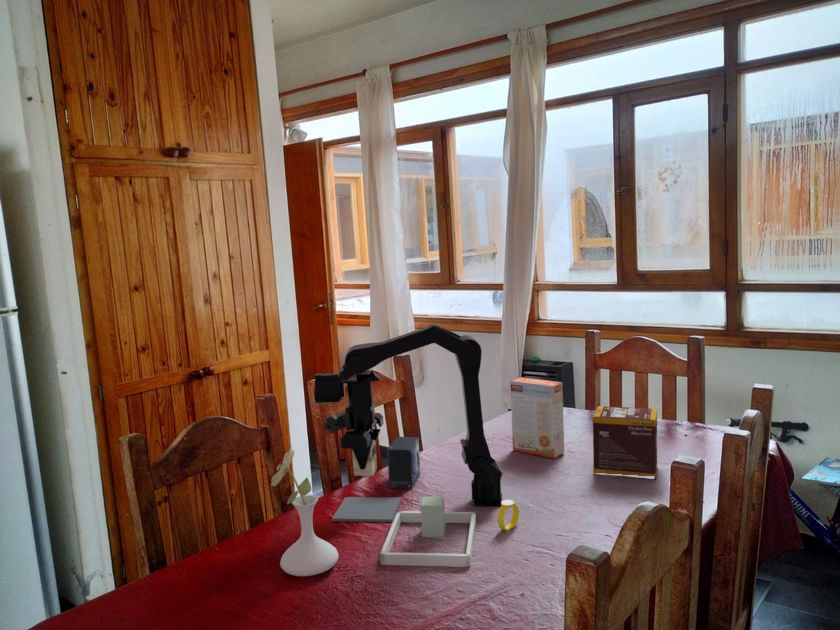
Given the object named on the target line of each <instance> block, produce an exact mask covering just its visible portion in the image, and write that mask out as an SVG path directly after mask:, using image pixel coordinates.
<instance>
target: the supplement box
mask: <svg viewBox="0 0 840 630" xmlns="http://www.w3.org/2000/svg"><path fill="white" fill-rule="evenodd" d="M592 434H593V436H592V442H593V443H592V444H593V446H592V448H593V449H592V450H593V459H592V461H593V471H592V472H593V473H605V474H606V473H607V474H622V475H638V476H654V477H656V478H657V473H656V471H657V470H658V410H657V408H643V407H627V406H626V407H625V406H603V405H601V406H599V405H598V406H597V407H596V410H595V411H594V415H593V417H592ZM657 472H658V471H657Z"/></svg>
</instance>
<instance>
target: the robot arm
mask: <svg viewBox="0 0 840 630" xmlns="http://www.w3.org/2000/svg"><path fill="white" fill-rule="evenodd" d="M431 344H435V345H438V346H439V347H441V348H443V349H445V350H447V351H448V352H450V353H452V354H454V356H455V360H456V363H457V366H458V370H459V373H460V376H461V385H462V395H463V396H462V397H463V405H464V415H465V417H464V418H465V425H466V436H465V438H460V439H459V441H460V444H461V455H460V456H461V458H462V460H463V462H464V465H467V467H468V469H469V471H470V472H471V473H473V479H471V485H470V486H471V499H472V501H473V506H477V507H478V506H484V507H485V506H486V507H487V506H488V507H489V506H490V507H491V506H492V507H493V506H495V507H496V506H497V507H499V506H500V507H501V502H502V501H503V493H502V480H501V479H502V477H503V471H502V470H501V468H500V467H499V465H498V463H497V460H495V459H494V458H493V457H492V455H491V452H490V448H489V445H488V443H487V440H486V439H487V438H486V436H485V431H484V421H483V420H484V419H483V413H482V412H483V411H482V401H481V389H480V380H479V375H480V369H481V364H482V348H481V347H482V346H481V345H480V344H479V342H478V341H477V340H476V339H475V338H474V337H472V336H470V335H467V334H463V335H459V334H457V333H455V332H454V331H453V332H452V331H451V330H449V329H446V328H444V327H442V326H440V325H439V324H437V323H430V324H428V325H427V326H425V327H422V328H419V329H416V330H413V331H411V332H408V333H405V334H401V335H398V336H395V337H392V338H390V339H386V340H384V341H379V342H369V343H368V342H366V343H361V344H355V345H352V346H351V347H349V348H348V350H347V352H346V353H345V358H344V364H343V365H342V366H341V367H340V368H339V371H338V372H334V373H316V374H314V389H313V390H314V391H313V395H314V403H315V404H316V405H317V404H319V405H320V404H331V403H333V404H334V403H340V402H341V400H343V398H345V397H346V391H347V404H348V405H347V407H345V408H344V410H342V411H340V412H337V413H335V414H332V415H331V416H326V418H325V420H324V422H323V423H324V429H325V430H327V431H328V433H329V434H330V435H331V434H334V433H335V432H337V431H340V430H343V429H345V430H346V431H345V432H344V434H343V435H342V436H341V437H340V438H339V448H340V449H342V450H344V449H345V450H347V449H349V450H350V449H351V451H352V450H353V452H354V454H355V456H356V459H357V462H358V465H359V467H360V469H361V470H364V469H365V468H366V464H367V461H368V457H369V454H370V450H371V447H372V443H373V441H370V440H375V445H377V441H378V438H379V435H380V432H381V429H380V428H382V427H383V425H384V416H383V415H382V414H381V413H380V412H374V411H375V410H374V409H375V408H376V401H374V395H373V394H374V393H373V382H379V381H380V380H381V377H380V374H378V373H377V372H375V371H374V369H373V368H375V367H377V366H378V365H379V364H381V363H382V362H384V361H385V360H387V359H391V358H394V357H396V356H400V355H402V354H405V353H408V352H409V353H410V352H412V351H414V350H416V349H417V350H418V349H420V348H422V347H426V346H429V345H431ZM368 371H369V372H368ZM355 375H356V376H355ZM353 376H354V377H353ZM345 384H346V385H345ZM345 387H347V388H345ZM346 389H347V390H346ZM377 424H378V427H379V428H375V426H376V425H377Z"/></svg>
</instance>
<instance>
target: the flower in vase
mask: <svg viewBox="0 0 840 630" xmlns="http://www.w3.org/2000/svg"><path fill="white" fill-rule="evenodd" d="M294 455H295V449H292V448H290V449H289V451H288V452H285V454H284V456H283V460H282V464H278V465H277V467H276V471H277V472H276V473H275V475H274V476H273V477H272V478H271V481H270V482H271V483H270V485H271V487H272V486H273V487H276V486H277V485H278V484H279V483H280V482H281V481H282V480H283V477H284V476H285V474H286V473H289V475H290V476H291V478H292V479H293V480H292V481H294V484H295V485H296V488H297V490H296V491H294V492H293V493H292V494H291V495H290V496H289V498H288V500H287V502H286V503H287V504H286V505H289V504H292V506H294V507H295V509H296V511H297V512H298V515H299V516H298V517H299V519H300V528H301V532H300V537H299V538H298V539H297V540H296V542H294V543H293V544H291V545H290V546H289V547H288V548H287V549H286V550H285V552H284V553H283V554H282V556H281V559H280V560H279V561H280V562H279V564H280V565H279V566H280V568H281V569H282V570H283V571H284V572H285V573H287V574H288V575H291V576H295V577H310V576H315V575H319V574H322V573H324V572H327V571H329V570H330V569H331V568H332V567H334V566H335V565H336V563H338V562H337V561H339V552H338V549H337V548H336V547H335V546H334V545H333V544H331V542H328V541H326V540H324V539H322V538H320V537H318V536H317V535H316V534H315V532H314V531H315V530H314V527H313V526H314V525H313V524H314V523H313V519H314V518H313V516H314V515H313V514H314V508H315V507H316V504H317V502H318V501H319V498H318V496H315V495H312V494H309V493H310V492H311V491H312V486H311V483H310V480H309V478H308V477H306V478H305V479H303V481H301V483H300V484H298V482H297V480H296V478H295V476H294V475H293V473H292V471H291V470H290V466H291V464H292V461H293V458H294ZM298 494H299V495H300V496H298Z"/></svg>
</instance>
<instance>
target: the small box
mask: <svg viewBox="0 0 840 630" xmlns="http://www.w3.org/2000/svg"><path fill="white" fill-rule="evenodd" d="M420 460H421V459H420V439H419V437H417V436H414V437H413V436H396V437H395V439H394V440H393V441H392V443H391V444H389V446H388V448H387V462H388V464H387V466H388V467H387V468H388V488H389V489H409V490H410V489H413V487H414V486H415V484H416V482H417V480H418V479H419V476H420V475H421V465H420Z"/></svg>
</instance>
